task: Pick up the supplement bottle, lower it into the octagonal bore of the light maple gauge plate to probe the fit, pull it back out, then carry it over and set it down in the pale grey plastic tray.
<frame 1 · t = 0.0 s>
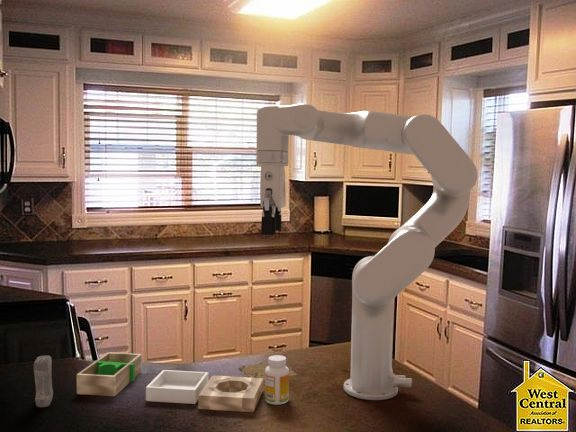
hand: (271, 232, 131), 37 cm above the countertop, fingers open, 9 cm apart
gauge plate: (231, 399, 125), on the countertop
pipe clamp: (111, 382, 134), resting in parts corral
speckled tile: (267, 373, 143), on the countertop
stone: (43, 404, 121), on the countertop
supplement bottle: (276, 401, 124), on the countertop
parts corral: (111, 381, 134), on the countertop
tray: (178, 392, 128), on the countertop
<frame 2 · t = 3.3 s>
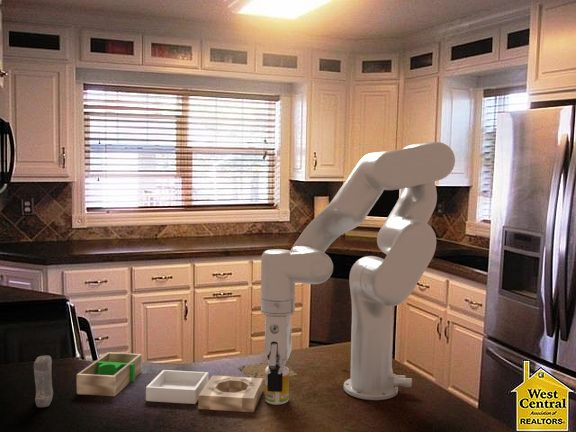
hand: (276, 384, 124), 4 cm above the countertop, fingers closed on supplement bottle, 5 cm apart
supplement bottle: (276, 401, 124), on the countertop, touching gripper
everything else where it was.
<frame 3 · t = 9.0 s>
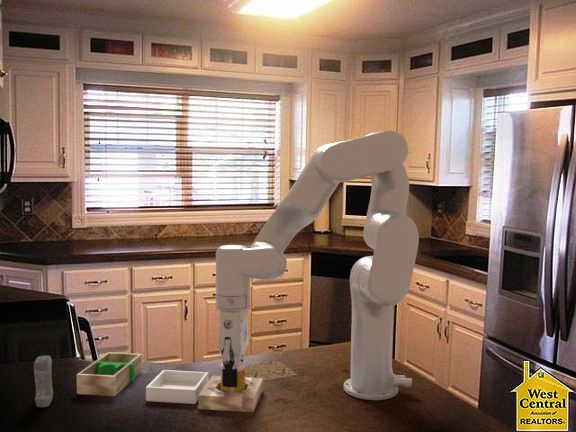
hand: (232, 380, 124), 4 cm above the countertop, fingers closed on supplement bottle, 5 cm apart
supplement bottle: (232, 396, 125), point 1 cm above the countertop, touching gripper
everything else where it was.
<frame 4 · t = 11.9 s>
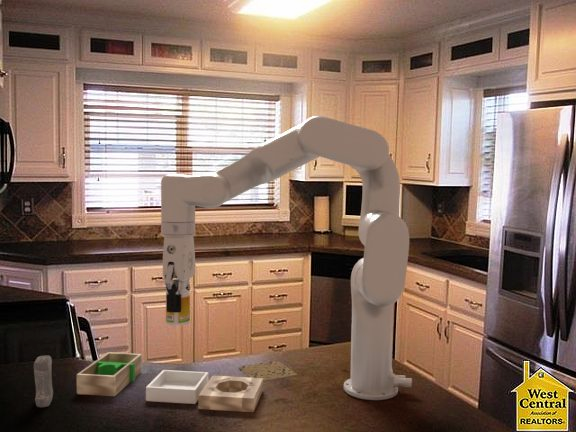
hand: (178, 307, 127), 20 cm above the countertop, fingers closed on supplement bottle, 5 cm apart
supplement bottle: (177, 323, 127), point 16 cm above the countertop, touching gripper
everything else where it was.
when the fingers open (5 cm above the countertop, at t = 14.7 s): supplement bottle drops 1 cm, resting on tray.
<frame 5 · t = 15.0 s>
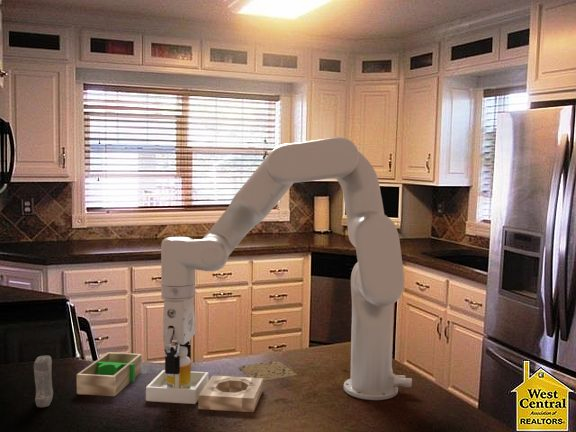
hand: (178, 366, 128), 6 cm above the countertop, fingers open, 7 cm apart
supplement bottle: (178, 391, 128), resting on tray
everything else where it was.
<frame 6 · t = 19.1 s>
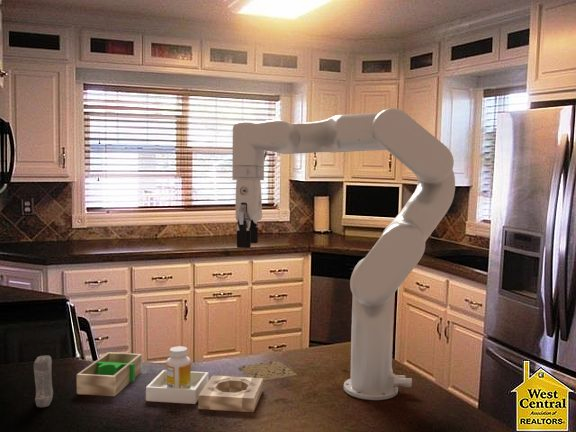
hand: (247, 245, 134), 33 cm above the countertop, fingers open, 9 cm apart
nothing on the countertop moved.
at the end: supplement bottle inside the target area on the tray (0.1 cm from its centre), point 0.4 cm above the tray's base; supplement bottle tilted 0°; the gripper is holding nothing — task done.
